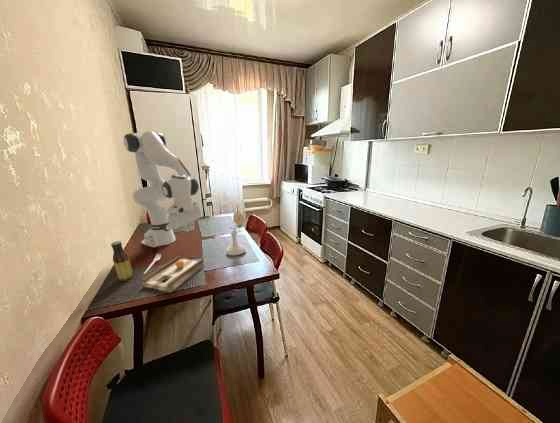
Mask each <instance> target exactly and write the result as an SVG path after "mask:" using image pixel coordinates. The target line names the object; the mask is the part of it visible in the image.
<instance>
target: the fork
mask: <svg viewBox="0 0 560 423" xmlns="http://www.w3.org/2000/svg"><path fill="white" fill-rule="evenodd" d="M161 257H162V254H161V253H159V254H155V257H154V259H153V260H152V262H151V263H150V264H149V266H148V267H147V269H146V270H145V271H144V272H143V274H144V275H146V273H147V272H148V271H149V270H150V269H151V268H152V266H153V265H154V264H155V262H157V261H159V260H160V259H161Z"/></svg>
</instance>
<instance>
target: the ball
mask: <svg viewBox="0 0 560 423" xmlns="http://www.w3.org/2000/svg"><path fill="white" fill-rule="evenodd" d="M183 266H184V262H183V261H182V260H178V261H177V262H176V267H178V268H181V267H183Z"/></svg>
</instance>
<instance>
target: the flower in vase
mask: <svg viewBox="0 0 560 423" xmlns="http://www.w3.org/2000/svg"><path fill="white" fill-rule="evenodd" d="M232 219H233V222H234V223H235V224H236V225H235V227H231V226H229V228H230V229H232V230H230V231H229V233H230V235H231V238H232V243H231V244H230V245H229V246H228V247H227V248H226V251H225V253H226V254H227V255H229V256H240V255H242V254H243V253H245V251H246V247H245V246H243V245H242V244H240V243H238V241H237V240H238V239H237V236H238V235H237V234H238V232H239V230H237V229H236V228H238V229H241V228H243V227H244V224H245V222H246V217H245V215H244V214H243V213H242V212H239V211H238V212H235V213H234V214H233V216H232Z"/></svg>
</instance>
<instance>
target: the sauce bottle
mask: <svg viewBox="0 0 560 423" xmlns="http://www.w3.org/2000/svg"><path fill="white" fill-rule="evenodd" d="M110 245H111V248H112V250H113V251H112V252H113V254H112V263H113V265H114V269H115V271H116V275H117V278H118V280H119V282H126V281H129V280H131V279H132V278H133V277H134V274H133V269H132V266H131V262H130V259H129V256H128V253H127V252H126V251H125V250H124V248H123V243H122V241H119V240H118V241H113V242H112V243H111V244H110Z"/></svg>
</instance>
